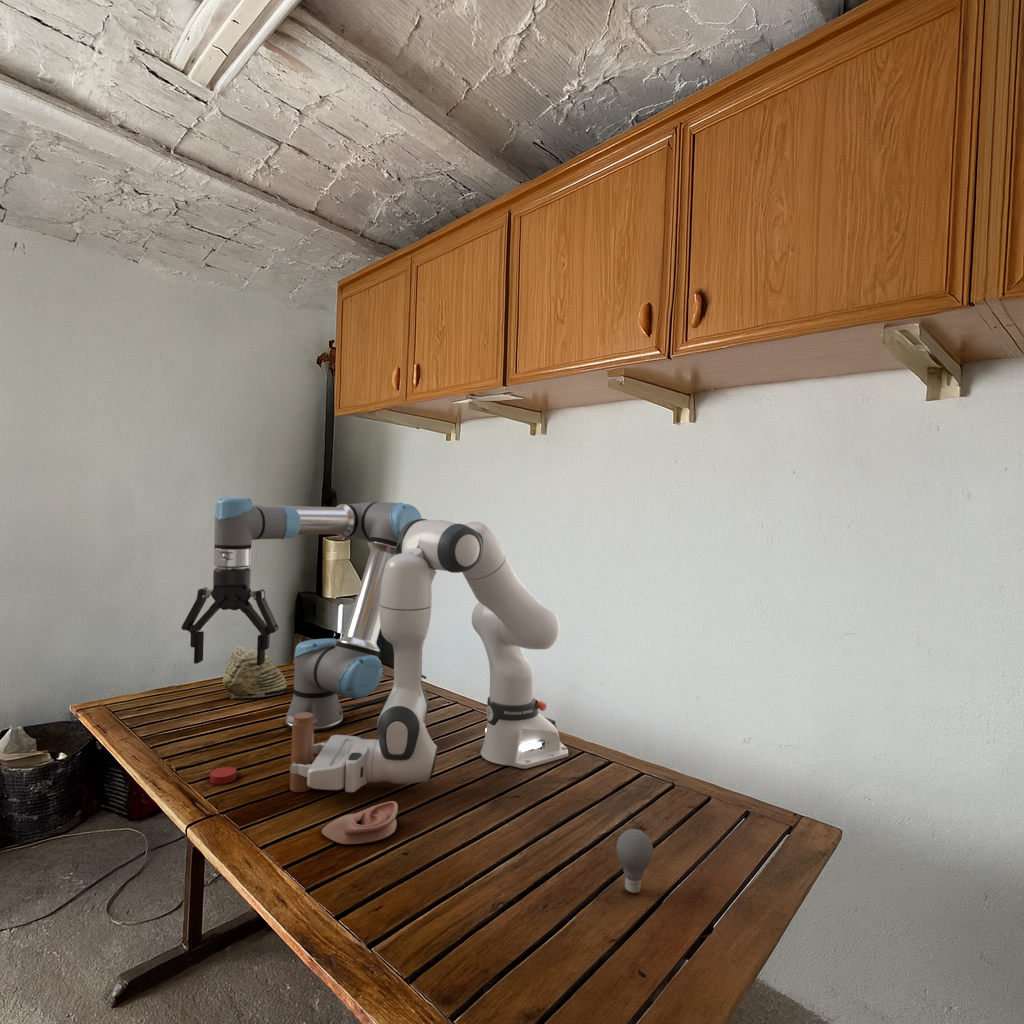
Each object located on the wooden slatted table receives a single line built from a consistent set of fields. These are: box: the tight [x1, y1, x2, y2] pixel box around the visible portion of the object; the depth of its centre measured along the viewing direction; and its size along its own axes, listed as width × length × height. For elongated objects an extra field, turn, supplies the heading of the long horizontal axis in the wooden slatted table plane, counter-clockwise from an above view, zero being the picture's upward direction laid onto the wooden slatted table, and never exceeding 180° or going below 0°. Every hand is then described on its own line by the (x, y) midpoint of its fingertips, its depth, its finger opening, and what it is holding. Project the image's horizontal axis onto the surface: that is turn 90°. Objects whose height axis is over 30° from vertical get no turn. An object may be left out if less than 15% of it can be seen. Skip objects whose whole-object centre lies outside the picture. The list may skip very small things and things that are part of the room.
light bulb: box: [615, 828, 654, 894], centre depth 106 cm, size 6×6×10 cm
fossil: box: [222, 646, 288, 699], centre depth 198 cm, size 9×18×15 cm, turn 132°
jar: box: [289, 712, 315, 793], centre depth 137 cm, size 5×5×16 cm
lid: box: [209, 766, 237, 785], centre depth 140 cm, size 5×5×2 cm
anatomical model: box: [321, 800, 399, 845], centre depth 121 cm, size 13×4×12 cm
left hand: (229, 663), depth 140 cm, fingers open, 13 cm apart
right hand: (298, 758), depth 137 cm, fingers open, 8 cm apart
